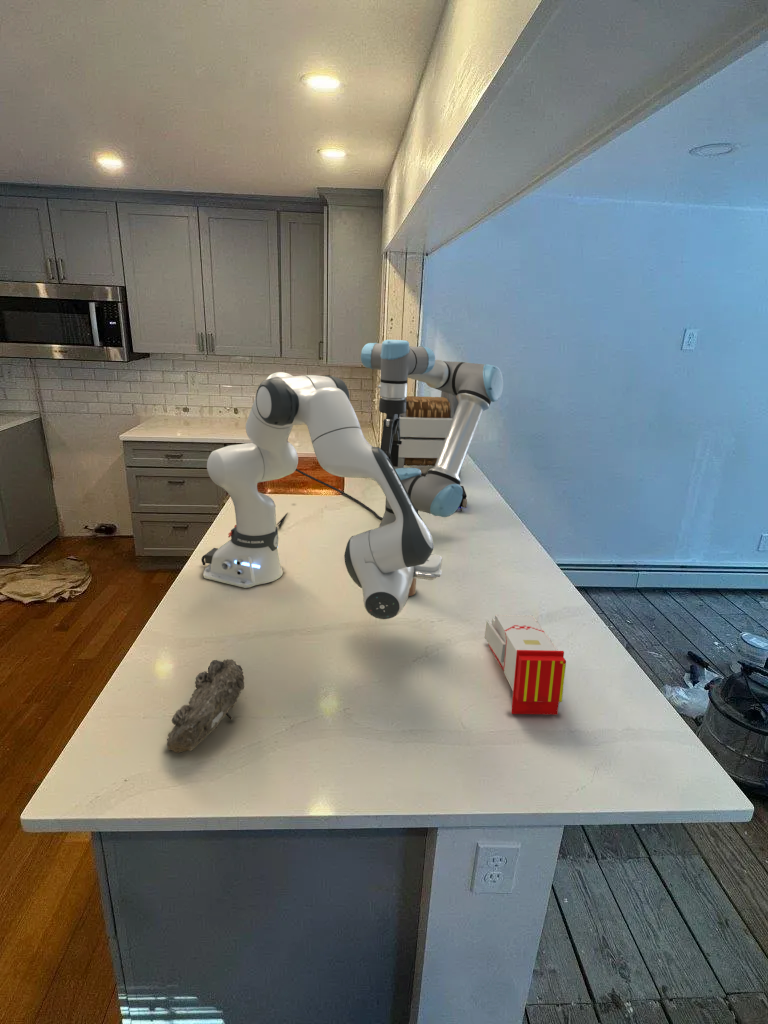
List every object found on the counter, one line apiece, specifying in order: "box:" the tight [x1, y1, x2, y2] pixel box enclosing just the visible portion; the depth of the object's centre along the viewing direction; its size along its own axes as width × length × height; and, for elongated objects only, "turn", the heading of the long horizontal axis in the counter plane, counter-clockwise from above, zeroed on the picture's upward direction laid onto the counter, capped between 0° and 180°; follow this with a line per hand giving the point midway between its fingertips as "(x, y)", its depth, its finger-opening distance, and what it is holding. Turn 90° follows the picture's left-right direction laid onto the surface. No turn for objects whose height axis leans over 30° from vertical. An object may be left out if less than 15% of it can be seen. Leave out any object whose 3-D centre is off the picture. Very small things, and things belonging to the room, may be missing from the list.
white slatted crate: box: [393, 391, 462, 480], centre depth 268 cm, size 34×33×41 cm
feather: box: [276, 513, 288, 529], centre depth 211 cm, size 2×28×2 cm
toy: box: [484, 614, 567, 716], centre depth 124 cm, size 12×13×30 cm
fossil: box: [166, 658, 245, 754], centre depth 106 cm, size 22×10×15 cm
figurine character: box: [457, 485, 468, 512], centre depth 228 cm, size 7×8×15 cm
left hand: (403, 549), depth 141 cm, fingers open, 8 cm apart
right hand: (389, 472), depth 164 cm, fingers open, 13 cm apart
